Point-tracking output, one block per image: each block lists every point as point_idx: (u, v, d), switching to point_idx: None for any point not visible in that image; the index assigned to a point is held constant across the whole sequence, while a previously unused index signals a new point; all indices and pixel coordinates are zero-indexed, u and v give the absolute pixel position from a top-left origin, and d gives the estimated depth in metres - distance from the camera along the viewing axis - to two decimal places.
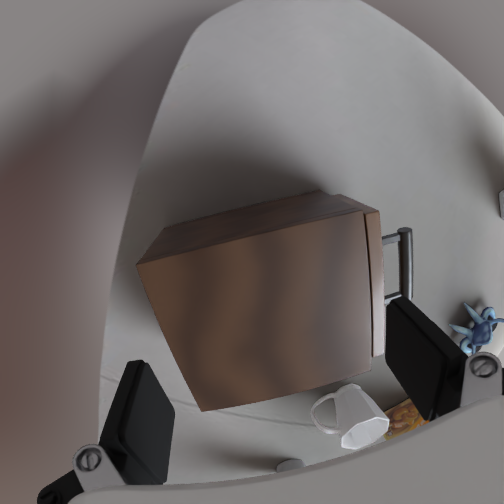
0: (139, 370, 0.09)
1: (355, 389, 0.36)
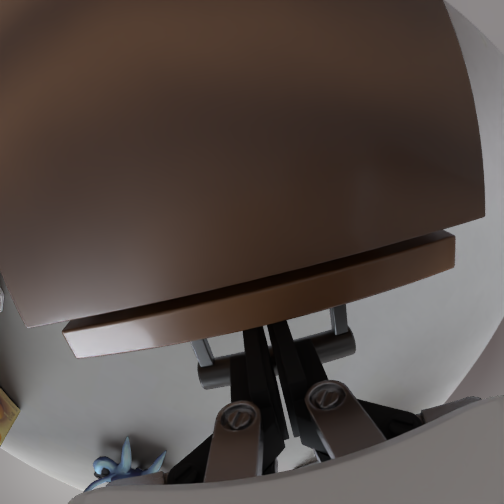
0: (258, 327, 0.11)
1: None
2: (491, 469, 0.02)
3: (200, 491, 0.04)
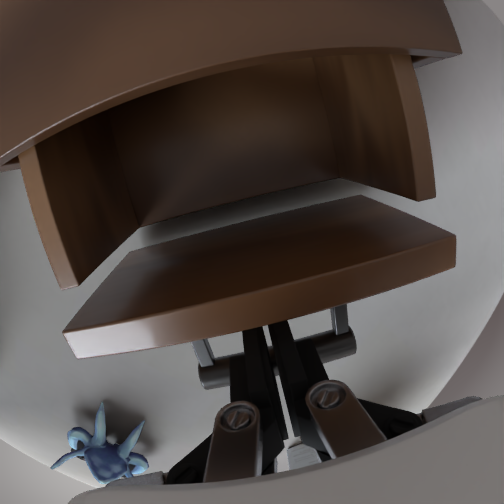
0: (258, 327, 0.11)
1: None
2: (491, 469, 0.02)
3: (200, 491, 0.04)
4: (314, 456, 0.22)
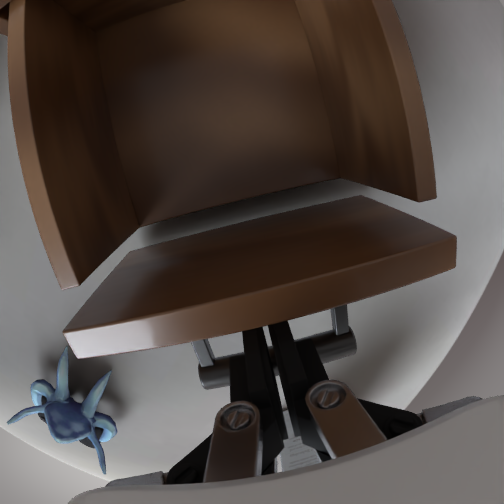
0: (258, 327, 0.11)
1: None
2: (491, 469, 0.02)
3: (200, 491, 0.04)
4: None
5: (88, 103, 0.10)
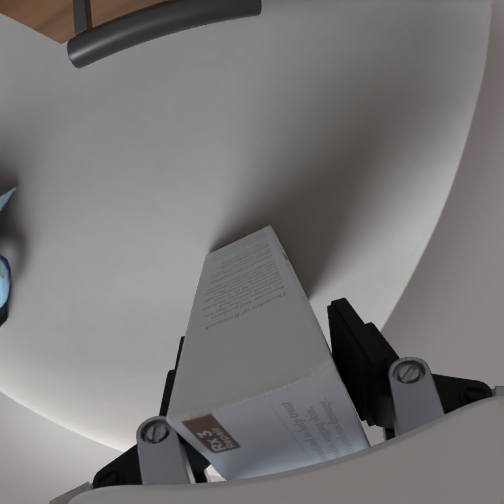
0: None
1: None
2: (491, 469, 0.02)
3: (200, 491, 0.04)
4: (246, 245, 0.15)
5: None
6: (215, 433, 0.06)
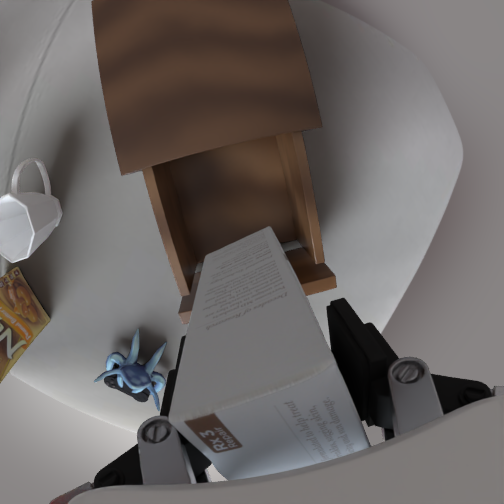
0: None
1: (57, 215, 0.28)
2: (491, 469, 0.02)
3: (200, 491, 0.04)
4: (246, 246, 0.15)
5: (176, 208, 0.26)
6: (217, 433, 0.06)
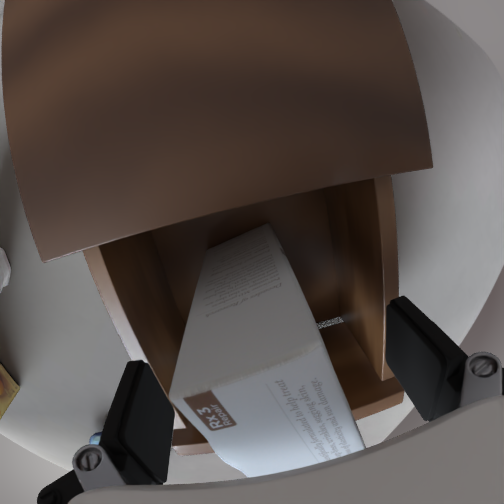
0: (139, 370, 0.09)
1: (2, 274, 0.18)
2: (491, 469, 0.02)
3: (200, 491, 0.04)
4: (246, 241, 0.16)
5: (156, 287, 0.16)
6: (213, 410, 0.07)
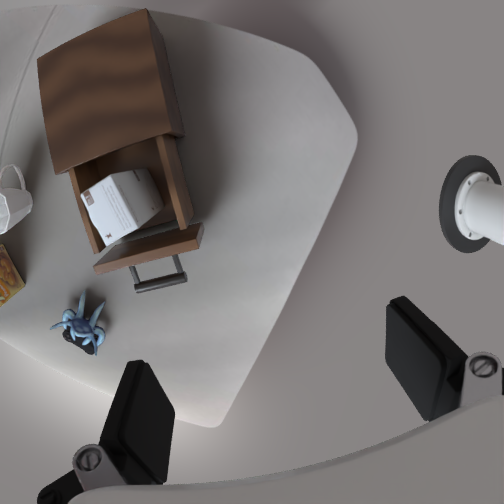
0: (139, 370, 0.09)
1: (28, 204, 0.36)
2: (491, 469, 0.02)
3: (200, 491, 0.04)
4: None
5: None
6: (89, 196, 0.25)
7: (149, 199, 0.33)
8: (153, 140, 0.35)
